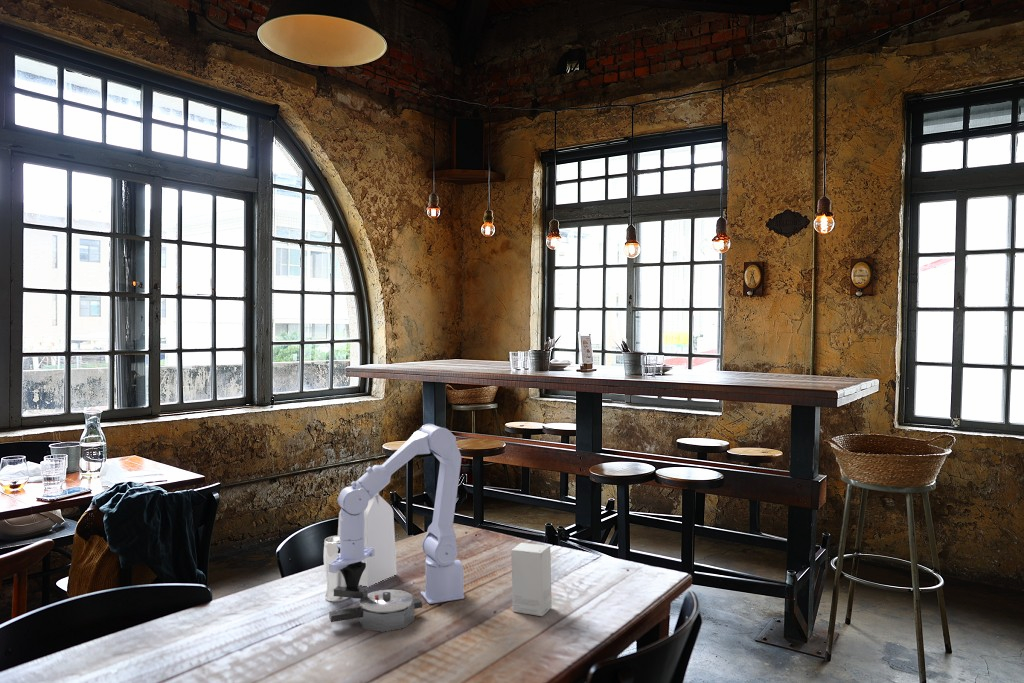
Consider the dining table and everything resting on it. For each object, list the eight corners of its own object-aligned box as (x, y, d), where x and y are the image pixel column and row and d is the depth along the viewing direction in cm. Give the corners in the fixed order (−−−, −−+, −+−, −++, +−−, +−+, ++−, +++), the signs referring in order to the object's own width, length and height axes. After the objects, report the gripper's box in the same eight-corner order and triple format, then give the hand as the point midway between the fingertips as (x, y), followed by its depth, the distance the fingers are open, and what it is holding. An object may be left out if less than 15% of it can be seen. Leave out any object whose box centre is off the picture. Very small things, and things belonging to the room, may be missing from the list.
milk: (396, 575, 198) (396, 482, 198) (367, 587, 188) (367, 490, 188) (365, 567, 205) (365, 477, 204) (335, 578, 195) (335, 484, 194)
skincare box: (552, 608, 175) (552, 545, 175) (542, 618, 169) (542, 553, 169) (521, 602, 179) (521, 541, 178) (510, 612, 173) (510, 548, 172)
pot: (413, 605, 176) (413, 589, 176) (427, 624, 165) (427, 607, 165) (325, 619, 167) (325, 602, 167) (334, 640, 157) (334, 622, 156)
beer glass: (344, 603, 177) (344, 544, 177) (318, 601, 179) (318, 542, 178) (356, 593, 184) (356, 536, 184) (331, 591, 186) (331, 534, 185)
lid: (420, 595, 172) (420, 585, 172) (401, 615, 160) (401, 604, 160) (347, 588, 176) (347, 578, 176) (323, 607, 164) (323, 597, 164)
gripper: (358, 527, 179) (358, 581, 180) (318, 543, 167) (318, 600, 167) (381, 531, 176) (381, 585, 176) (342, 547, 163) (341, 606, 164)
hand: (352, 593), depth 171 cm, fingers closed
